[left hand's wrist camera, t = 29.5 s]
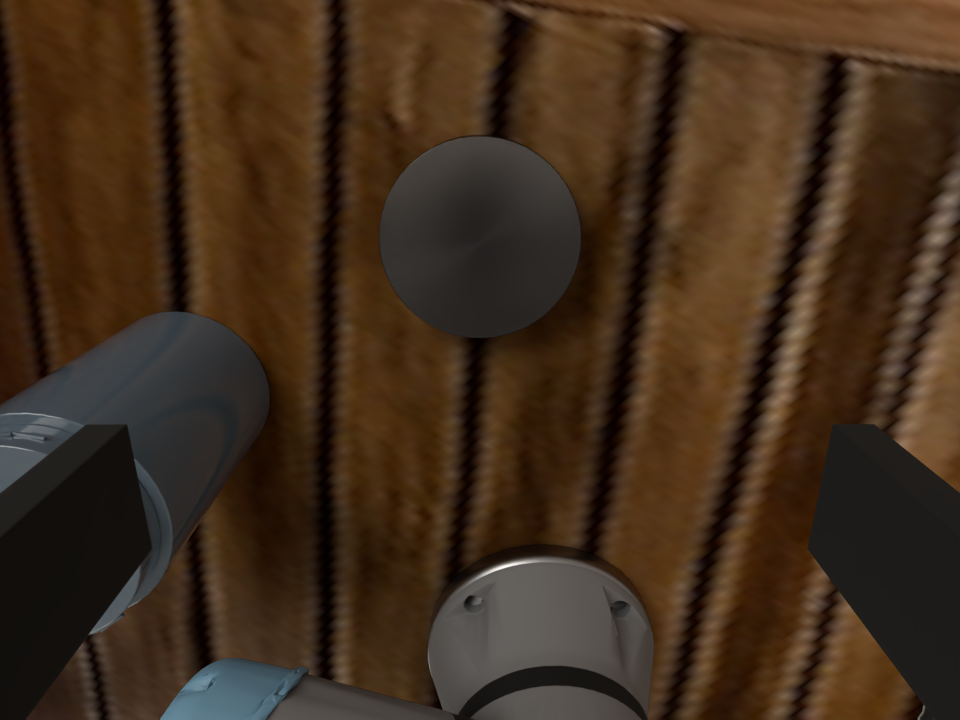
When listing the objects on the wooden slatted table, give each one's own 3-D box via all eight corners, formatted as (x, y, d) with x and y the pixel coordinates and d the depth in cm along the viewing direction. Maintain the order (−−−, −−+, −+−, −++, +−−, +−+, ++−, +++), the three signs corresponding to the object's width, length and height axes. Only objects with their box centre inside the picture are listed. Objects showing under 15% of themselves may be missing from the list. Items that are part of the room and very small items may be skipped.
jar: (68, 372, 40) (-168, 523, 26) (189, 277, 38) (8, 383, 24) (185, 490, 43) (34, 687, 28) (304, 408, 41) (206, 574, 26)
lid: (616, 226, 37) (623, 233, 35) (488, 362, 40) (488, 375, 38) (470, 89, 35) (469, 88, 33) (345, 244, 38) (338, 251, 36)
